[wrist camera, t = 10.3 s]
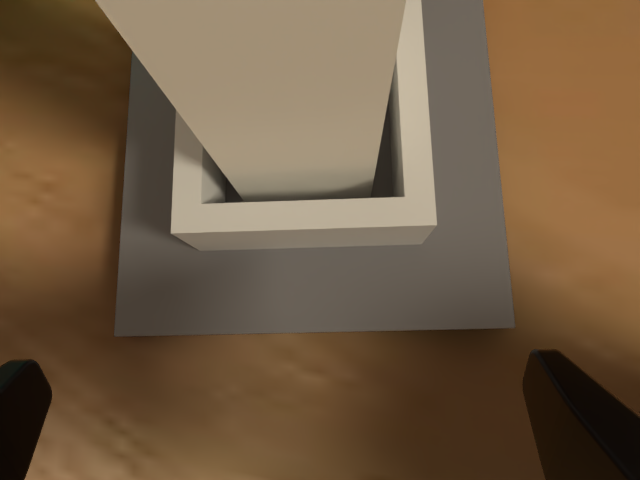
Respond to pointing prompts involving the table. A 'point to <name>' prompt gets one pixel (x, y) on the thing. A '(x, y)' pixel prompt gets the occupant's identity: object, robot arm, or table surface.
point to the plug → (274, 85)
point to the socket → (328, 213)
